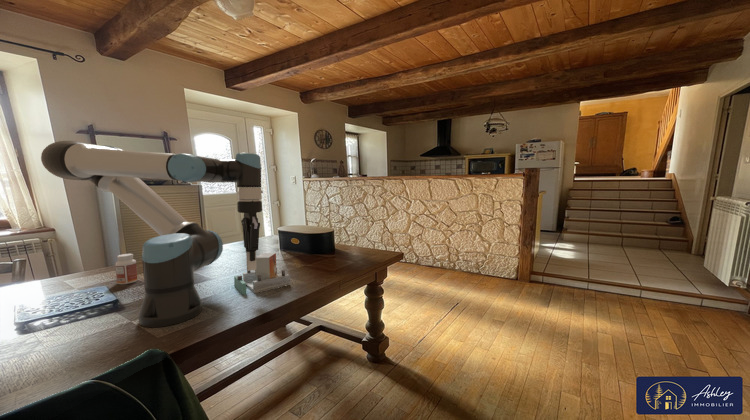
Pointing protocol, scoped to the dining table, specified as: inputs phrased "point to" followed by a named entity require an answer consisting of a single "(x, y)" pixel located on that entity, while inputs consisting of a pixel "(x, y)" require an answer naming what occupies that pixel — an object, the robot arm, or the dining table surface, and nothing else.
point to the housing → (265, 281)
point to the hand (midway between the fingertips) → (251, 269)
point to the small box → (266, 265)
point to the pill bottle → (126, 269)
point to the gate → (240, 284)
